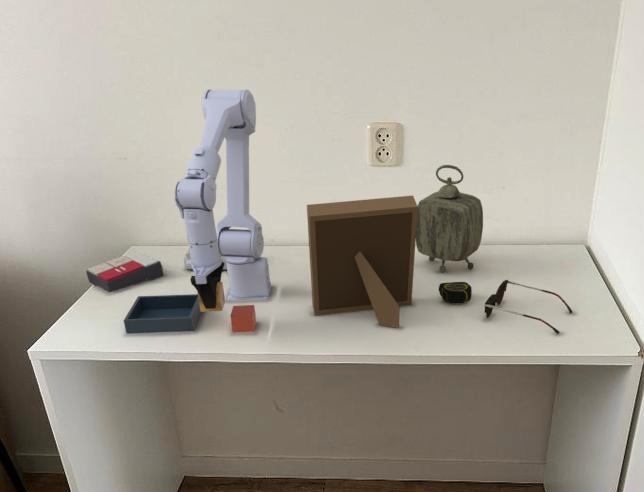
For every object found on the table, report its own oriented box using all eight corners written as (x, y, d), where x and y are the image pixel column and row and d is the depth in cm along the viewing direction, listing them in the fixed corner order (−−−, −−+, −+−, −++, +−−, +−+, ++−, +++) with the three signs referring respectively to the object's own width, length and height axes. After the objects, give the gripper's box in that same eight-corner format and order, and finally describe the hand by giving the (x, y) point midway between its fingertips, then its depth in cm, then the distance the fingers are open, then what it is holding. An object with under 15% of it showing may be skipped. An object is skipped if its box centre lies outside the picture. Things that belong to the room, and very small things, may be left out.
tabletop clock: (480, 268, 181) (486, 164, 167) (464, 281, 174) (469, 174, 160) (428, 258, 187) (430, 157, 173) (411, 270, 181) (411, 166, 167)
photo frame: (312, 307, 165) (303, 196, 151) (407, 297, 168) (406, 187, 154) (320, 337, 153) (311, 219, 139) (422, 325, 156) (423, 209, 142)
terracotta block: (256, 323, 159) (254, 304, 157) (254, 333, 155) (251, 314, 153) (236, 324, 159) (233, 305, 157) (233, 334, 155) (230, 314, 153)
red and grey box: (84, 268, 180) (138, 248, 188) (89, 284, 182) (142, 264, 190) (105, 280, 173) (160, 258, 181) (110, 296, 175) (164, 275, 183)
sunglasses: (502, 298, 166) (505, 277, 163) (573, 314, 160) (577, 293, 157) (481, 323, 156) (484, 301, 153) (556, 341, 150) (560, 319, 147)
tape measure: (467, 294, 168) (468, 278, 166) (473, 306, 163) (474, 290, 161) (438, 295, 168) (438, 280, 166) (443, 308, 162) (443, 292, 160)
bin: (204, 308, 167) (201, 293, 165) (194, 333, 157) (191, 318, 155) (141, 310, 167) (137, 296, 165) (126, 335, 157) (123, 320, 155)
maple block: (225, 301, 156) (222, 282, 154) (222, 310, 152) (219, 290, 150) (204, 302, 156) (201, 282, 154) (200, 311, 153) (197, 291, 150)
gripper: (189, 228, 152) (199, 289, 160) (175, 254, 140) (187, 318, 148) (223, 227, 152) (232, 288, 160) (211, 252, 140) (221, 317, 148)
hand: (212, 302), depth 154 cm, fingers closed on maple block, 4 cm apart
